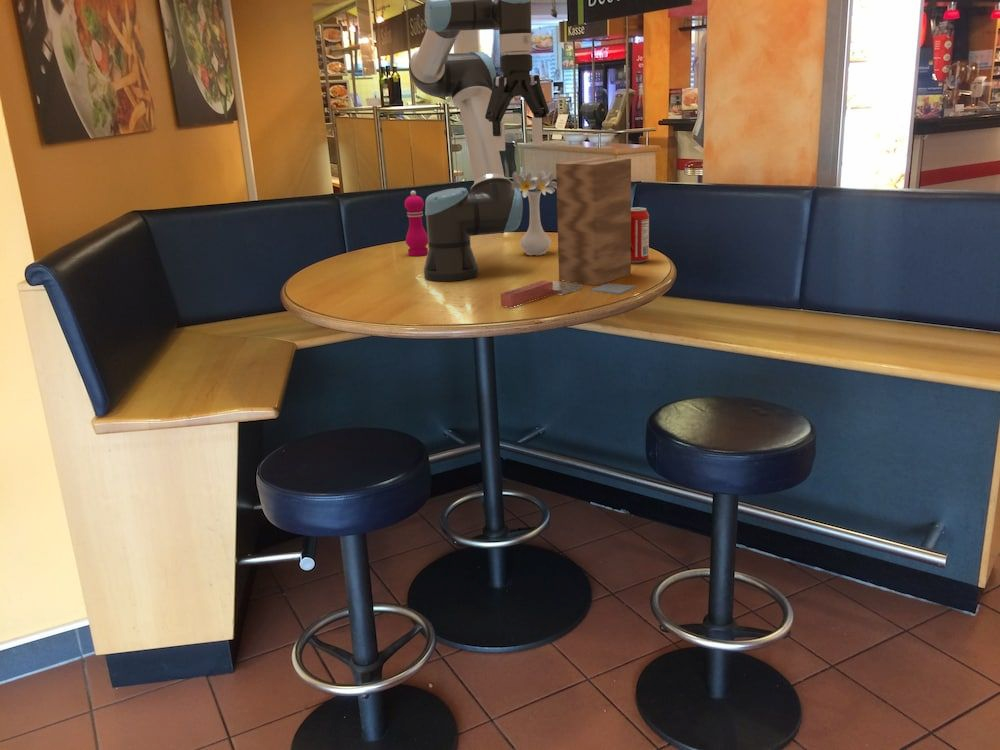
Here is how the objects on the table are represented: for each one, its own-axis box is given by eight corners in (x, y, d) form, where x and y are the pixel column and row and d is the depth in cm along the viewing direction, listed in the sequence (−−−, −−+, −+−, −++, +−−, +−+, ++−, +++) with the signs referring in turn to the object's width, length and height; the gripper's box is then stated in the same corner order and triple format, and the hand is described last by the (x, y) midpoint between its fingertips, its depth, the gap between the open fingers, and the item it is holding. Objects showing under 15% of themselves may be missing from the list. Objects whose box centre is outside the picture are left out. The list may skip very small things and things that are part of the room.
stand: (559, 280, 219) (556, 163, 209) (593, 269, 230) (592, 157, 220) (596, 285, 211) (595, 164, 201) (630, 273, 222) (631, 158, 213)
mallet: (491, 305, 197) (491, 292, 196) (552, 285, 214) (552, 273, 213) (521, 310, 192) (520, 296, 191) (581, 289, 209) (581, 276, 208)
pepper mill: (428, 255, 261) (423, 191, 254) (405, 256, 261) (399, 192, 255) (430, 251, 268) (425, 188, 261) (408, 252, 268) (403, 189, 262)
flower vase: (570, 255, 250) (568, 170, 242) (509, 259, 249) (505, 174, 241) (565, 247, 262) (563, 166, 254) (507, 251, 262) (503, 170, 254)
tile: (591, 293, 206) (590, 289, 206) (607, 286, 212) (607, 283, 211) (619, 296, 201) (619, 292, 201) (635, 289, 207) (635, 285, 207)
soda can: (648, 264, 233) (648, 210, 228) (619, 264, 234) (619, 211, 230) (648, 258, 240) (649, 206, 235) (621, 259, 242) (621, 207, 237)
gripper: (490, 54, 183) (495, 153, 190) (562, 52, 200) (563, 143, 207) (466, 55, 188) (472, 152, 195) (538, 53, 204) (540, 142, 212)
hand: (519, 148), depth 201 cm, fingers open, 13 cm apart
